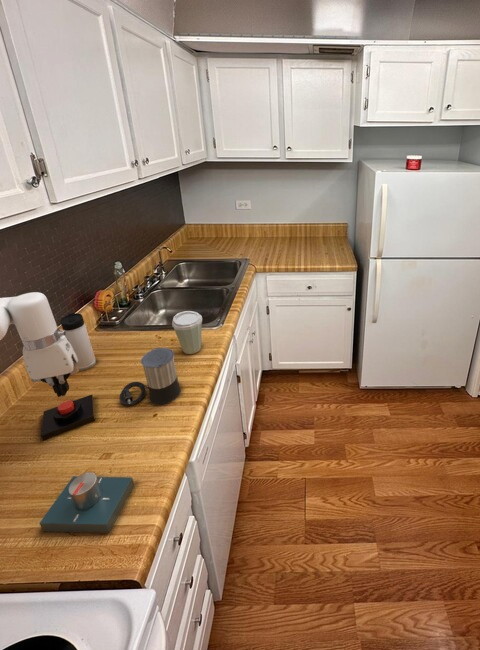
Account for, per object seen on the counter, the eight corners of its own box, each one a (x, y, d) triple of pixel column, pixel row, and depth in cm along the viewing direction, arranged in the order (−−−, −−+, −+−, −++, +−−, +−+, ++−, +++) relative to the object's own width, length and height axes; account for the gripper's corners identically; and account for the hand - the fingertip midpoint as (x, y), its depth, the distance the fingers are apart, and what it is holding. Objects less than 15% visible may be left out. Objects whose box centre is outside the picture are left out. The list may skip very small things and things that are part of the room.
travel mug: (96, 357, 123) (82, 310, 115) (96, 367, 118) (82, 318, 110) (75, 363, 119) (60, 315, 112) (75, 373, 114) (58, 324, 107)
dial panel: (43, 532, 69) (38, 522, 68) (76, 484, 79) (72, 475, 77) (109, 533, 69) (106, 524, 68) (134, 485, 78) (132, 476, 77)
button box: (43, 441, 89) (38, 430, 88) (45, 416, 97) (41, 406, 96) (95, 421, 96) (92, 411, 94) (94, 399, 103) (90, 389, 102)
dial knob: (85, 486, 75) (79, 470, 73) (106, 487, 75) (101, 471, 73) (69, 510, 71) (62, 493, 69) (91, 511, 70) (85, 494, 68)
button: (59, 416, 93) (57, 412, 92) (59, 408, 96) (57, 403, 95) (74, 411, 95) (72, 406, 94) (74, 403, 97) (73, 398, 97)
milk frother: (186, 394, 106) (179, 356, 100) (134, 424, 95) (123, 383, 89) (166, 373, 115) (158, 337, 109) (116, 399, 104) (105, 360, 98)
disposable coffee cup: (209, 341, 132) (205, 308, 126) (202, 359, 122) (197, 324, 116) (183, 342, 132) (177, 309, 126) (173, 359, 122) (166, 324, 116)
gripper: (79, 325, 92) (97, 377, 99) (13, 336, 87) (37, 390, 94) (70, 340, 85) (90, 395, 92) (-1, 353, 81) (25, 410, 88)
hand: (63, 392), depth 93 cm, fingers closed
